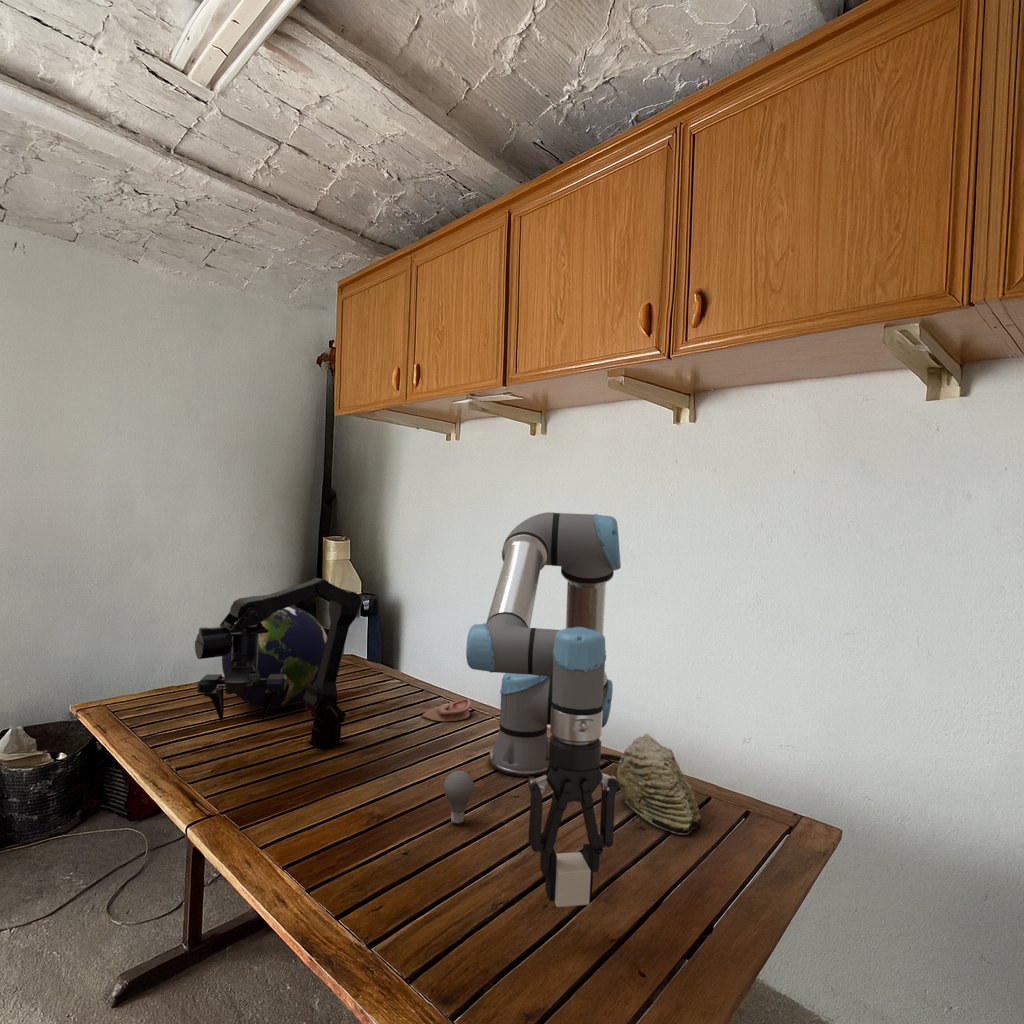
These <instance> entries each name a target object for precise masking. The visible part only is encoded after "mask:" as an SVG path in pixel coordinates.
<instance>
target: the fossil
mask: <svg viewBox="0 0 1024 1024" xmlns="http://www.w3.org/2000/svg"><path fill="white" fill-rule="evenodd" d="M620 756H621V758H622V759H620V760H618V767H617V768H618V769H617V773H616V777H617V781H618V782H619V787H618V788H619V790H620V791H621V793H622V796H623V797H624V799H625V801H624V803H626V805H627V806H628V807H629V808H630V809H631V810H633V812H634V813H636V814H637V815H639V816H640V817H641V818H643V819H644V820H645V821H646V822H648V823H649V824H651V825H653V826H655V827H656V828H659V829H662V830H664V831H668V832H670V833H672V834H676V835H682V836H684V835H686V836H687V835H688V834H690V833H691V832H692V831H693V830H694V829H696V828H697V827H698V826H699V825H700V824H701V823H702V817H701V815H700V809H699V807H698V802H697V800H696V797H695V793H694V791H693V789H692V786H691V785H690V784H689V782H688V780H687V778H686V775H685V774H684V773H683V771H682V770H681V767H680V765H679V763H678V761H677V760H676V757H675V755H674V752H673V750H672V749H671V748H670V747H669V748H668V747H666V746H663V745H662V744H660V743H659V742H658V741H657V740H656V739H655V738H653V736H651V735H650V734H649V733H645V734H644V735H642V736H638V737H637V738H635V739H634V740H633V741H632V743H631V744H630V745H628V747H627V748H625V750H624V751H623V754H622V755H620Z"/></svg>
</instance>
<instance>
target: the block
mask: <svg viewBox="0 0 1024 1024" xmlns="http://www.w3.org/2000/svg"><path fill="white" fill-rule="evenodd" d="M556 855H557V866H556V886H555V901H554V904H555V906H556V908H564V907H565V908H566V907H578V906H588V905H590V899H591V898H590V877H591V870H590V869H589V867H588V865H587V863H586V861H585V859H584V858H583V853H582V852H581V851H578V852H577V851H576V852H575V851H574V852H560V853H559V852H558V853H556Z"/></svg>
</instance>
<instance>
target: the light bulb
mask: <svg viewBox="0 0 1024 1024" xmlns="http://www.w3.org/2000/svg"><path fill="white" fill-rule="evenodd" d="M474 790H475V782H474V779H473V777H472V776H471V775H470V774H469V773H468V772H467V771H465V770H455V771H452V772H450V774H448V775H447V777H446V778H445V780H444V782H443V792H444V796H445V798H446V799H447V801H448V803H449V809H450V811H451V813H450V814H451V818H450V821H451V822H452V823H455V824H460V823H463V822H464V821H465V811H466V809H467V805H468V803H469V801H470V800H471V797H472V796H473V794H474Z"/></svg>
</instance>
